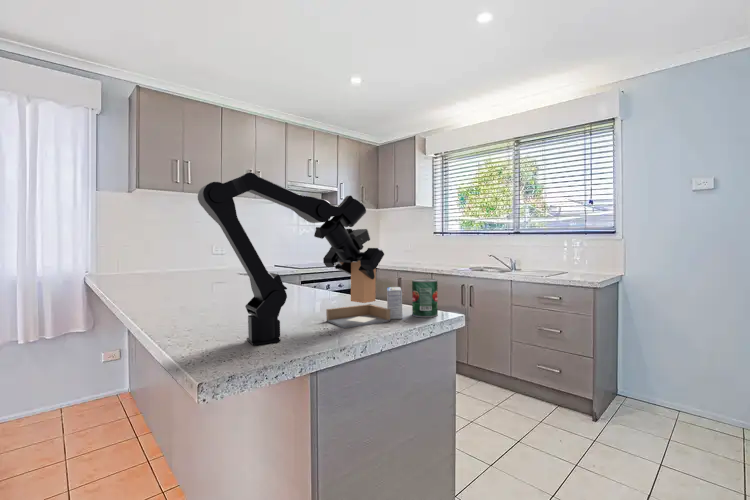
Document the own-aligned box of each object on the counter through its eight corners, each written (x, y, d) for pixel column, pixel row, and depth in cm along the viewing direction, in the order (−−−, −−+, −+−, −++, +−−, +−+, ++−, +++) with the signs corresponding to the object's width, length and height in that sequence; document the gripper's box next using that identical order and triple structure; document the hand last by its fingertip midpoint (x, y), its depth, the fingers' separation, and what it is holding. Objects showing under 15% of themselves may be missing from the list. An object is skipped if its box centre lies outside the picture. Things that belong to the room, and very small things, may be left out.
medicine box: (402, 319, 119) (402, 290, 118) (387, 319, 119) (387, 290, 118) (401, 314, 127) (401, 286, 126) (387, 314, 127) (386, 286, 126)
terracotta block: (363, 303, 111) (364, 259, 111) (350, 301, 114) (350, 259, 114) (375, 301, 115) (375, 259, 115) (362, 299, 118) (362, 258, 118)
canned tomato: (407, 314, 127) (407, 279, 126) (429, 311, 130) (429, 277, 129) (420, 318, 119) (419, 281, 119) (442, 316, 122) (442, 280, 122)
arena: (343, 328, 108) (343, 315, 108) (326, 321, 117) (326, 309, 117) (390, 321, 116) (390, 309, 116) (370, 315, 125) (370, 304, 125)
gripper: (380, 217, 105) (404, 258, 114) (330, 219, 117) (356, 256, 126) (359, 247, 99) (387, 288, 108) (309, 246, 111) (338, 283, 120)
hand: (366, 277), depth 116 cm, fingers closed on terracotta block, 5 cm apart
